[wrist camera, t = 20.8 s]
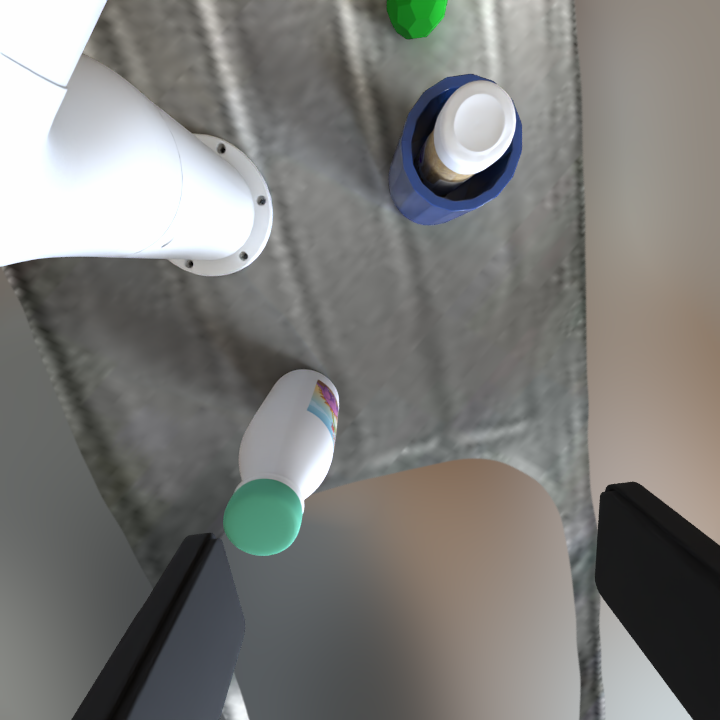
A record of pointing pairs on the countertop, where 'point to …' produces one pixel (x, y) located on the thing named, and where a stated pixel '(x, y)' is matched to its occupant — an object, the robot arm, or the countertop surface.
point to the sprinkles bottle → (466, 136)
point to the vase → (466, 197)
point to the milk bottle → (282, 462)
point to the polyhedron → (415, 16)
